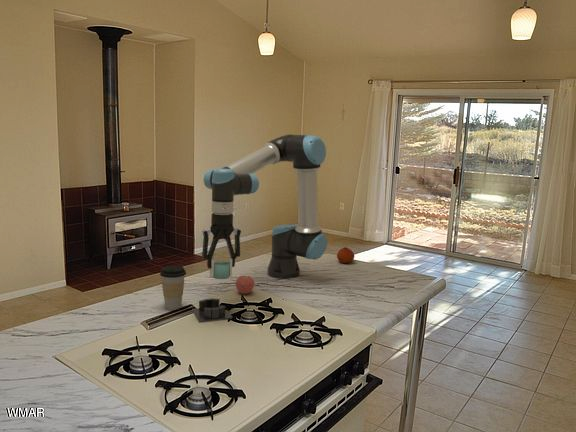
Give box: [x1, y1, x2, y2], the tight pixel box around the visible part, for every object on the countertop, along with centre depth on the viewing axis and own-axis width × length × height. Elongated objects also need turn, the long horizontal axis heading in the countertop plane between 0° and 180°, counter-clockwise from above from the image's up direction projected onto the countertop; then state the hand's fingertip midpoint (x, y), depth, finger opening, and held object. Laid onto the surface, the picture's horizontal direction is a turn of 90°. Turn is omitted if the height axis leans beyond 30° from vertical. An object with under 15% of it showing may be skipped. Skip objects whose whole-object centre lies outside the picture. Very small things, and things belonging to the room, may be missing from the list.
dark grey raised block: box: [191, 297, 233, 324], centre depth 173 cm, size 12×12×4 cm
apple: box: [235, 274, 255, 295], centre depth 195 cm, size 7×7×8 cm
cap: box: [213, 260, 230, 280], centre depth 172 cm, size 6×6×5 cm
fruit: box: [336, 247, 355, 264], centre depth 246 cm, size 9×9×8 cm
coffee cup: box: [159, 265, 187, 311], centre depth 177 cm, size 9×9×15 cm
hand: (220, 276), depth 172 cm, fingers closed on cap, 6 cm apart
